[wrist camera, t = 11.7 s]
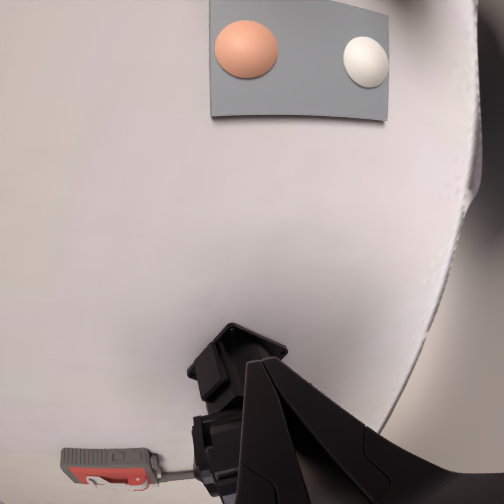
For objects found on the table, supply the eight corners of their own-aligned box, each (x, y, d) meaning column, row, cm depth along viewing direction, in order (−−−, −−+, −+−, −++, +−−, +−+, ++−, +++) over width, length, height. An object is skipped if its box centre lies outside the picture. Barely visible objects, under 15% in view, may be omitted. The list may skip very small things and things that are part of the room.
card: (382, 119, 20) (388, 121, 19) (210, 116, 17) (212, 116, 17) (382, 17, 16) (389, 15, 16) (209, -9, 14) (211, -13, 13)
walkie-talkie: (76, 473, 31) (214, 466, 36) (76, 499, 27) (221, 493, 32) (50, 443, 27) (211, 437, 32) (48, 473, 23) (219, 469, 28)
